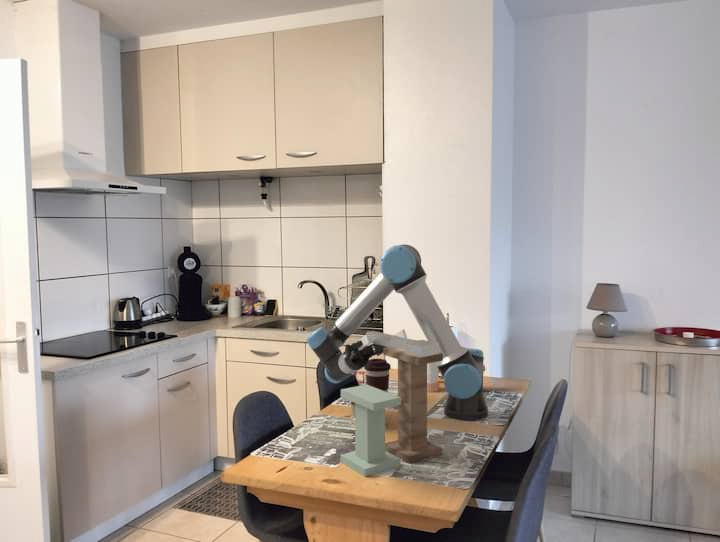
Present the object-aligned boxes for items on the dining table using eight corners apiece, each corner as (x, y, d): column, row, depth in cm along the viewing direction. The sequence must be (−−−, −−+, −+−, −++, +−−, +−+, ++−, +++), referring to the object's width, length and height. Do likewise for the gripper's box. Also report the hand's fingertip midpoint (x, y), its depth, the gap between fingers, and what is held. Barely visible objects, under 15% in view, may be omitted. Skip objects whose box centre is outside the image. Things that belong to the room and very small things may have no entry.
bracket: (361, 342, 187) (360, 332, 187) (378, 339, 191) (378, 330, 191) (421, 357, 166) (421, 346, 165) (439, 354, 170) (439, 343, 170)
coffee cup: (389, 403, 224) (389, 363, 223) (362, 402, 226) (362, 363, 224) (391, 396, 234) (391, 357, 233) (366, 395, 235) (366, 357, 234)
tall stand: (379, 448, 180) (379, 348, 178) (411, 439, 187) (411, 343, 184) (413, 466, 167) (413, 358, 164) (446, 456, 174) (446, 353, 171)
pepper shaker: (425, 392, 238) (425, 344, 237) (418, 387, 245) (418, 341, 244) (442, 391, 240) (442, 343, 238) (435, 386, 247) (435, 340, 246)
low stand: (336, 459, 172) (336, 390, 170) (371, 450, 178) (371, 383, 177) (369, 479, 158) (368, 404, 157) (405, 468, 165) (405, 396, 164)
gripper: (387, 365, 205) (422, 342, 189) (324, 376, 192) (356, 352, 176) (381, 344, 208) (415, 320, 192) (318, 353, 194) (348, 328, 178)
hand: (387, 335), depth 184 cm, fingers open, 13 cm apart
